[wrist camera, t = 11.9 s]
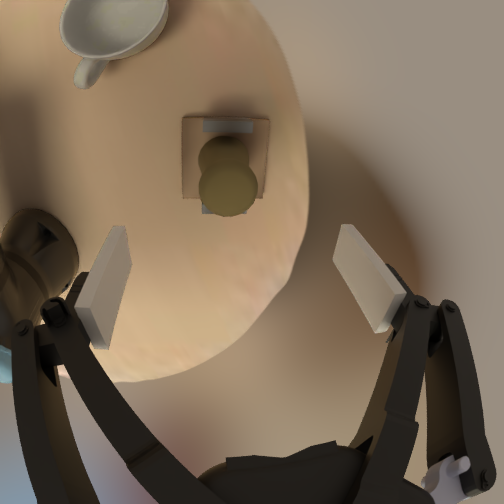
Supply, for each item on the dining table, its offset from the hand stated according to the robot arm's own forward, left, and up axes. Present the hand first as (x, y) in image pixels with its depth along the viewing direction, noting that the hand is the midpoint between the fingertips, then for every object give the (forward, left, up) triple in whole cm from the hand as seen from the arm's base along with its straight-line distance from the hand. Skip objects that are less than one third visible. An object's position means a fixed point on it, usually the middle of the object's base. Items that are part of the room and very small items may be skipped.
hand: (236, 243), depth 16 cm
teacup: (-13, +16, -20) cm, 29 cm away
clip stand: (0, 0, -20) cm, 20 cm away
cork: (0, 0, -19) cm, 19 cm away
